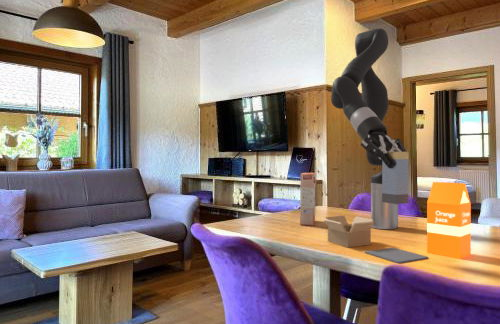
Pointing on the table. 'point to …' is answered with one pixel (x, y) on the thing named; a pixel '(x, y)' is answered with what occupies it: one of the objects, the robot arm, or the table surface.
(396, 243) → the table surface
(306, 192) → the cracker box
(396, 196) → the tall two-tone pillar
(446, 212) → the orange juice
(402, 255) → the felt mat
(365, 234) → the carton
